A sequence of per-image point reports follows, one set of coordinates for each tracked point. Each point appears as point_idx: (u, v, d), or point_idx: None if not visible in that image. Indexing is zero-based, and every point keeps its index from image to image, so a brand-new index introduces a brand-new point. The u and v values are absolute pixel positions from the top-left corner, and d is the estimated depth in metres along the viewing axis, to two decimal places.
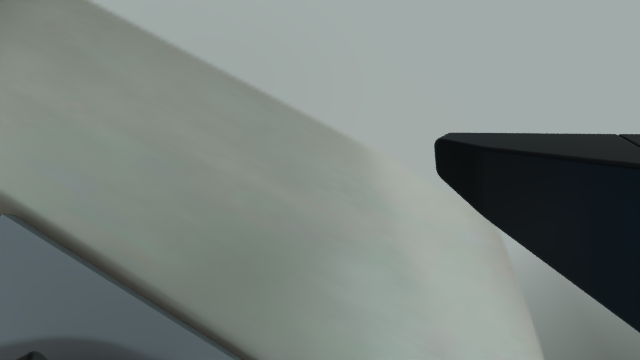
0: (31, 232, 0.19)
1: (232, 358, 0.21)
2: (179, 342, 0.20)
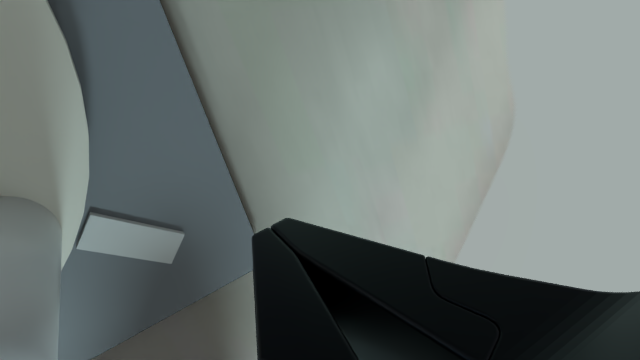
0: None
1: (172, 36, 0.12)
2: None
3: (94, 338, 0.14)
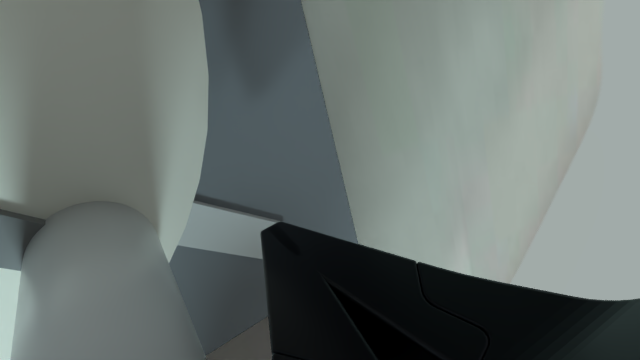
0: None
1: None
2: None
3: None
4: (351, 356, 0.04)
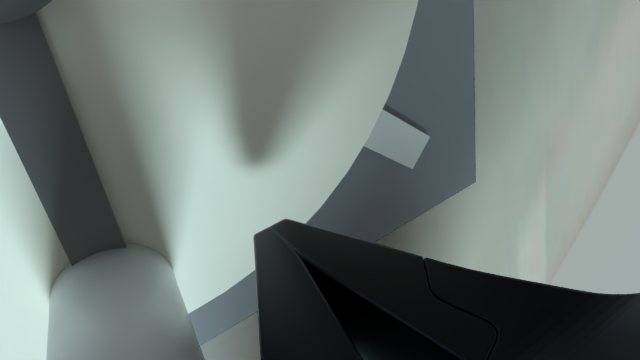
0: None
1: None
2: None
3: None
4: None
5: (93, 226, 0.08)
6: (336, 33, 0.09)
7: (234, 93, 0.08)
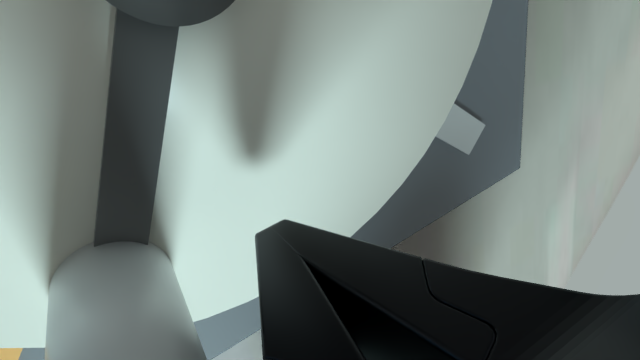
0: None
1: None
2: None
3: (398, 226, 0.15)
4: None
5: (131, 215, 0.08)
6: (382, 121, 0.11)
7: (290, 140, 0.10)
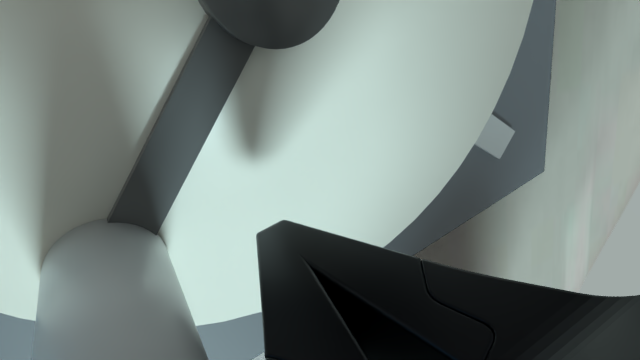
0: None
1: None
2: None
3: (434, 226, 0.16)
4: None
5: (152, 201, 0.08)
6: (388, 179, 0.12)
7: (309, 174, 0.10)
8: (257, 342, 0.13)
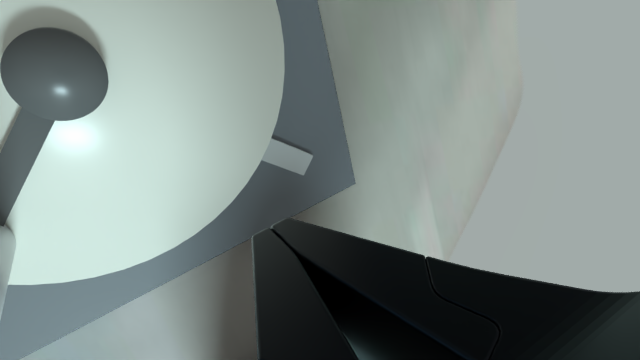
0: None
1: (321, 26, 0.19)
2: None
3: (254, 223, 0.22)
4: None
5: None
6: (183, 192, 0.18)
7: (115, 189, 0.16)
8: (109, 301, 0.19)
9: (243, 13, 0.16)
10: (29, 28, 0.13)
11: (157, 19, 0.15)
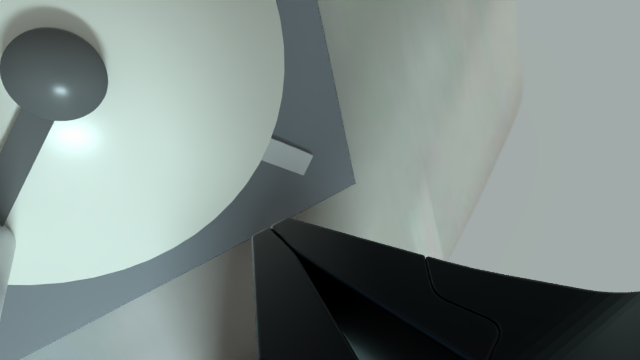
0: None
1: (321, 26, 0.19)
2: None
3: (254, 223, 0.22)
4: None
5: None
6: (183, 192, 0.18)
7: (115, 189, 0.16)
8: (109, 301, 0.19)
9: (243, 13, 0.16)
10: (28, 28, 0.13)
11: (156, 20, 0.15)
